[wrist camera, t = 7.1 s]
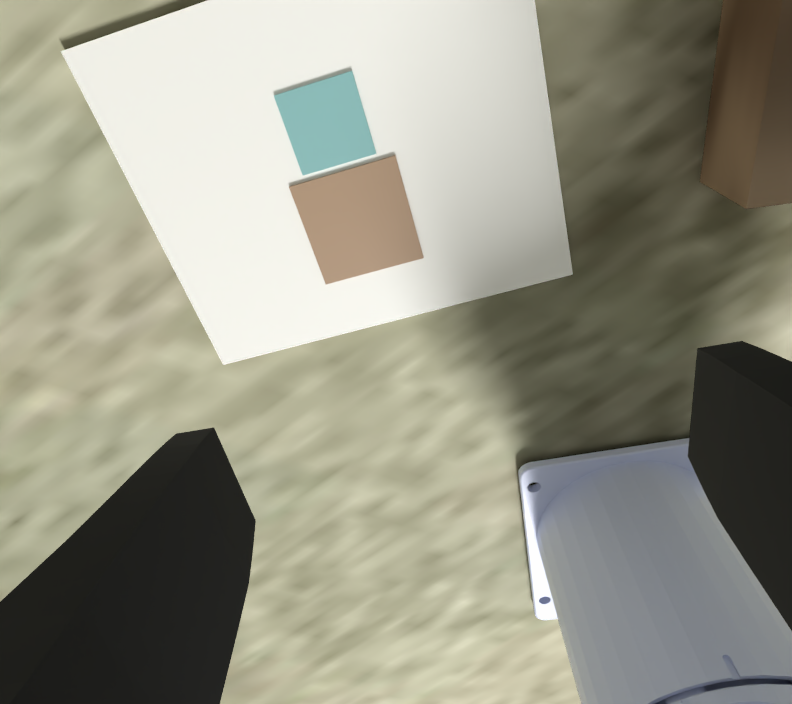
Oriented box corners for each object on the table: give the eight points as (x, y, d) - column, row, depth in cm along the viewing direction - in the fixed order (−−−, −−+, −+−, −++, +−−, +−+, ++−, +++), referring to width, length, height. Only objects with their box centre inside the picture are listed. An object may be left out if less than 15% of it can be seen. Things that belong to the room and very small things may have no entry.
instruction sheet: (571, 272, 19) (573, 275, 19) (224, 361, 20) (222, 366, 20) (518, -107, 14) (520, -109, 14) (64, 50, 15) (58, 51, 15)
